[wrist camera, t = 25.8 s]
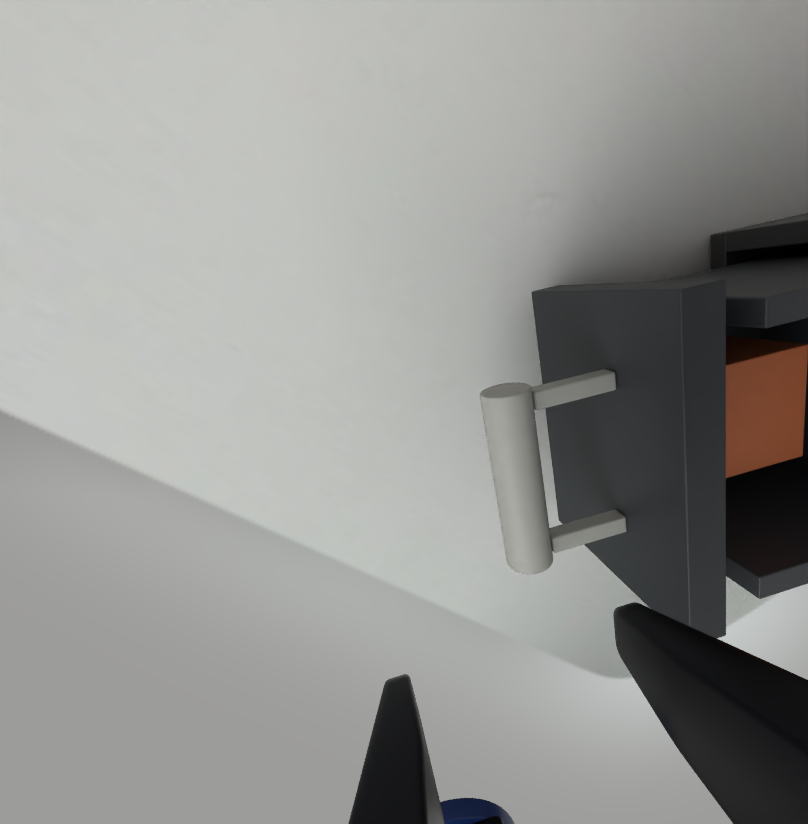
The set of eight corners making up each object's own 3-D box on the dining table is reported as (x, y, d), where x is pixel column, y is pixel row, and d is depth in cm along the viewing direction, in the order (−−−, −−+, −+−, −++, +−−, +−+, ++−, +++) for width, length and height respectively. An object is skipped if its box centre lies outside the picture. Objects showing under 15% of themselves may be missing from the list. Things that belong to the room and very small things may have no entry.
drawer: (473, 544, 20) (559, 691, 13) (430, 314, 17) (510, 328, 10) (750, 465, 22) (972, 554, 14) (753, 241, 19) (1035, 206, 11)
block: (618, 355, 18) (698, 372, 14) (708, 333, 18) (809, 343, 14) (624, 447, 19) (700, 486, 15) (709, 424, 19) (803, 456, 16)
